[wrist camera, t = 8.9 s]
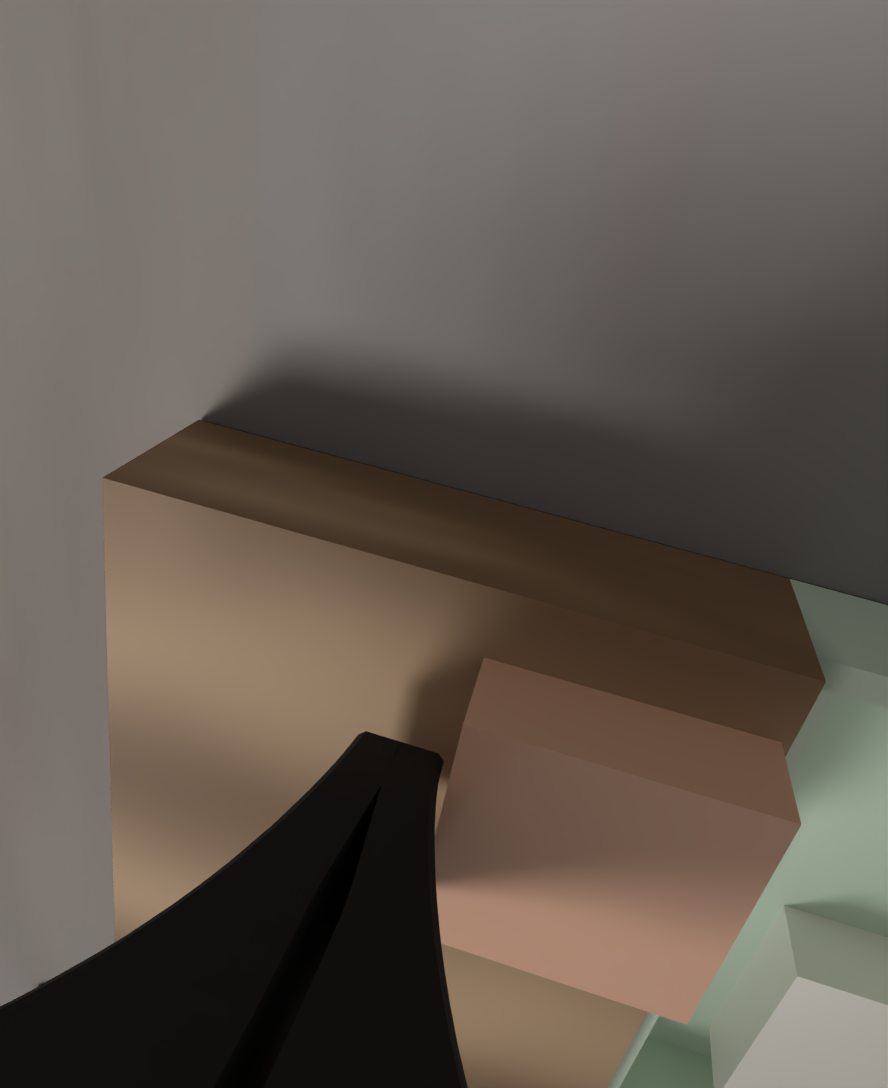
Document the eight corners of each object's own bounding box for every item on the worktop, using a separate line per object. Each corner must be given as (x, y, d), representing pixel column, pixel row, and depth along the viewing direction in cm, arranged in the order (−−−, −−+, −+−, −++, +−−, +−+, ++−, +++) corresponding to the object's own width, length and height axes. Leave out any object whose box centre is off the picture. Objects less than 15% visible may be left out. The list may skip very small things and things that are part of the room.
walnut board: (584, 1011, 20) (576, 1144, 17) (182, 875, 21) (116, 979, 18) (790, 578, 13) (825, 682, 11) (198, 419, 15) (102, 477, 12)
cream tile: (714, 1099, 17) (708, 1027, 18) (928, 1173, 16) (905, 1093, 18) (797, 976, 15) (784, 904, 16) (1046, 1056, 14) (1009, 975, 16)
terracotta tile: (682, 934, 13) (687, 1025, 12) (433, 855, 14) (410, 933, 13) (781, 742, 11) (802, 824, 10) (483, 657, 12) (463, 724, 10)
